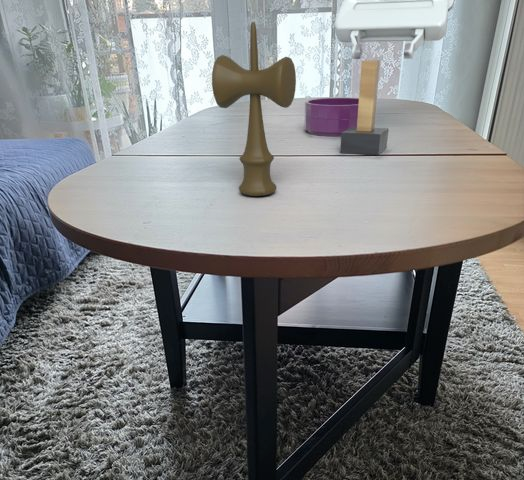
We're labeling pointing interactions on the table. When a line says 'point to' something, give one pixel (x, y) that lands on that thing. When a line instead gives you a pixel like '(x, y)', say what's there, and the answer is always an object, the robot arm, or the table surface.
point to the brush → (366, 116)
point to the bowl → (330, 115)
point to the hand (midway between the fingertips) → (381, 56)
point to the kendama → (254, 108)
